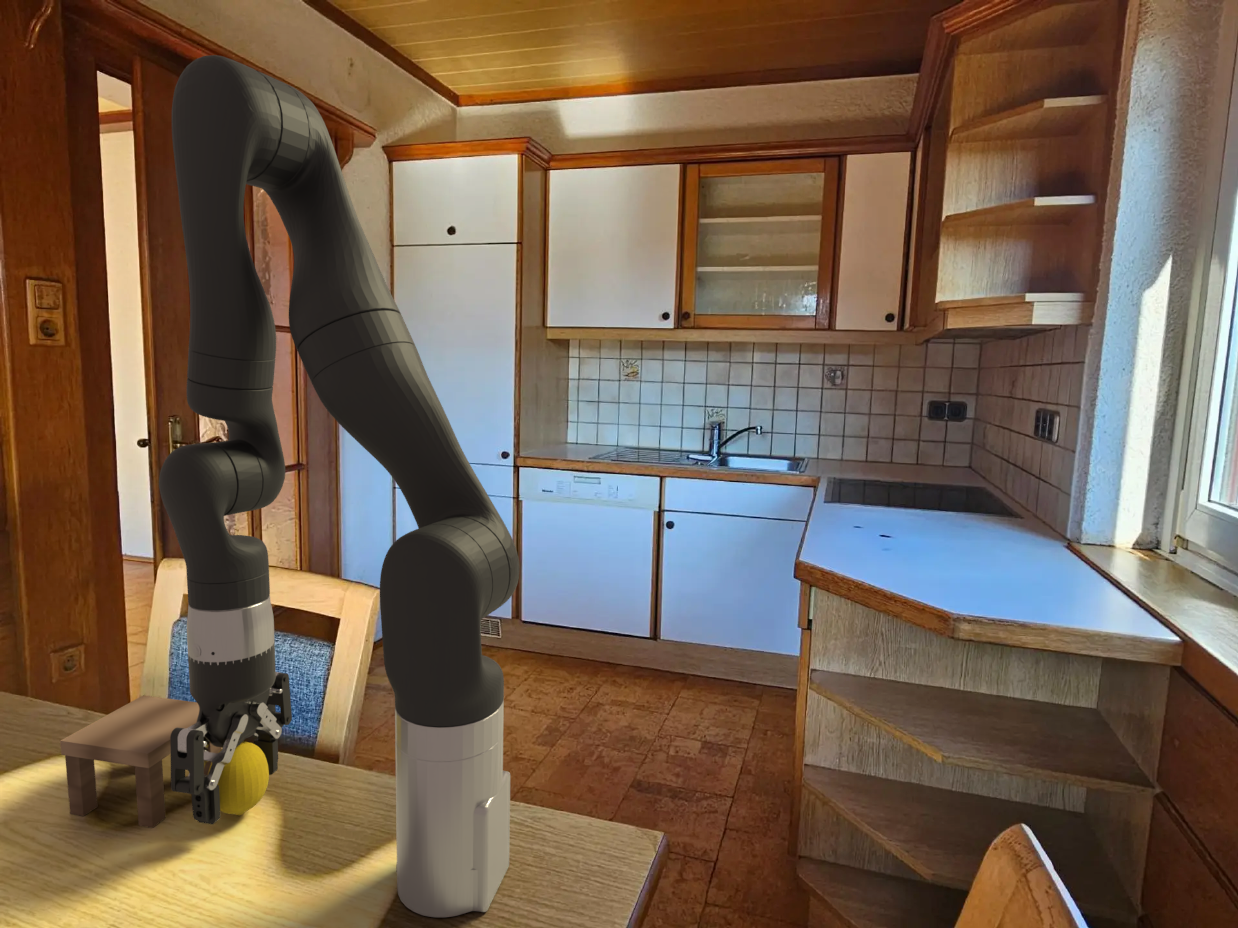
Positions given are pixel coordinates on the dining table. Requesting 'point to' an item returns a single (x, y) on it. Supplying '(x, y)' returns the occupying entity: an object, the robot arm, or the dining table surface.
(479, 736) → the robot arm
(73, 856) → the dining table surface
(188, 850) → the dining table surface
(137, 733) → the stool
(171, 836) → the dining table surface
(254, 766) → the lemon
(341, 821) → the dining table surface
